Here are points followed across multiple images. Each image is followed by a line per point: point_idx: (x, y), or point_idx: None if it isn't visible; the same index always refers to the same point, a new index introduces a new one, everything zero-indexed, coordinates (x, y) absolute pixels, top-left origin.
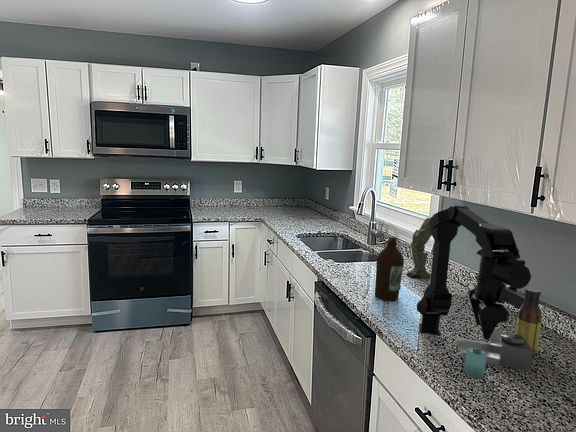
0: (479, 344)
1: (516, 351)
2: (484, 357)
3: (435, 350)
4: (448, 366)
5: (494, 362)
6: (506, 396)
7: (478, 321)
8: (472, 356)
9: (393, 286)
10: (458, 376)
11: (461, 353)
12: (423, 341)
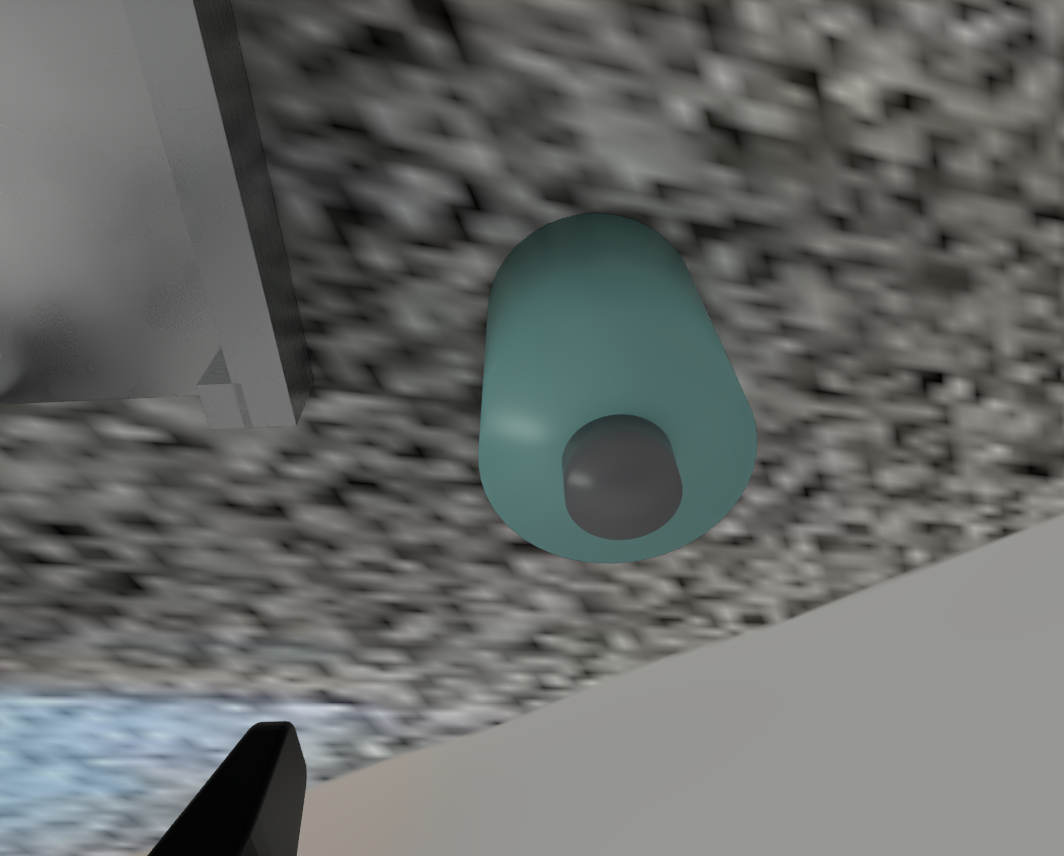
0: None
1: None
2: (736, 379)
3: (263, 591)
4: None
5: (222, 16)
6: (1039, 34)
7: (281, 854)
8: (722, 505)
9: None
10: None
11: (196, 393)
12: (132, 664)
